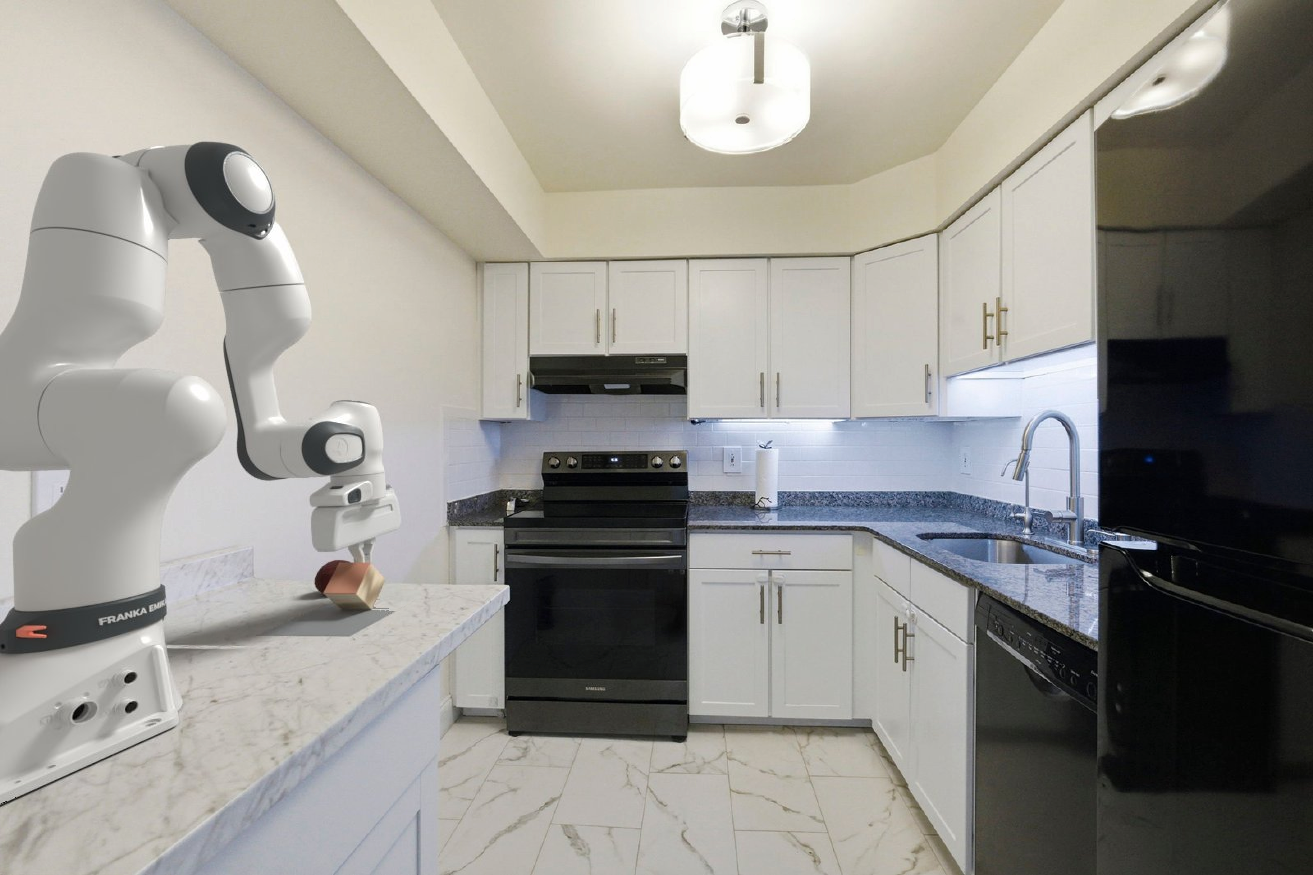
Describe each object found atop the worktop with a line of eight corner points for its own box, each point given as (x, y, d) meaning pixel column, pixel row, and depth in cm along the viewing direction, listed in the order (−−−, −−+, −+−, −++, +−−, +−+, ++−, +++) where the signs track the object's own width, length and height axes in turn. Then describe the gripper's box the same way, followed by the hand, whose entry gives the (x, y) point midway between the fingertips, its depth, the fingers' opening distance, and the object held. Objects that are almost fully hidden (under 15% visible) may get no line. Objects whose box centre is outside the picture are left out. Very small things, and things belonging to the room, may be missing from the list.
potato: (361, 595, 109) (359, 560, 109) (315, 602, 105) (314, 566, 105) (357, 587, 115) (356, 554, 115) (314, 594, 111) (313, 560, 111)
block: (372, 609, 97) (355, 593, 93) (341, 609, 98) (323, 593, 94) (385, 579, 101) (370, 562, 97) (356, 579, 102) (339, 562, 98)
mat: (349, 639, 84) (349, 636, 84) (255, 638, 86) (255, 635, 86) (417, 602, 103) (417, 599, 103) (338, 602, 105) (338, 599, 105)
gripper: (378, 483, 110) (381, 551, 110) (301, 498, 90) (306, 581, 90) (407, 482, 109) (411, 550, 110) (336, 497, 89) (341, 580, 89)
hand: (363, 564), depth 100 cm, fingers closed
